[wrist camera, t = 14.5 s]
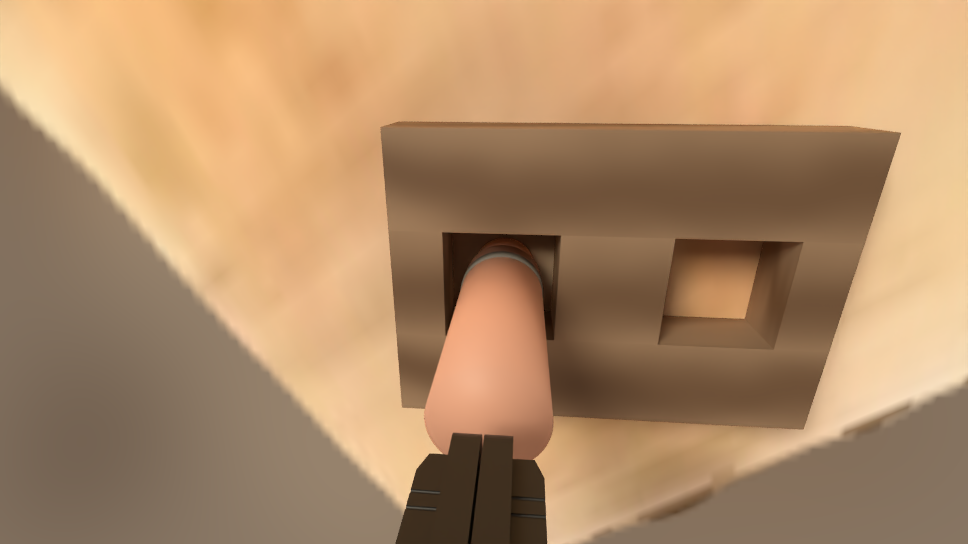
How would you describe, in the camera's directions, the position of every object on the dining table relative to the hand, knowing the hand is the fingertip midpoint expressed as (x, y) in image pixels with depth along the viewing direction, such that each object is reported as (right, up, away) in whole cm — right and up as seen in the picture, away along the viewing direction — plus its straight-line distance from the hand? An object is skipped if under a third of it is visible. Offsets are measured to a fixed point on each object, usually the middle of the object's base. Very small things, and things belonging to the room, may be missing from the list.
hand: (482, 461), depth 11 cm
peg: (+1, +5, +13) cm, 14 cm away
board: (+6, +5, +12) cm, 14 cm away
